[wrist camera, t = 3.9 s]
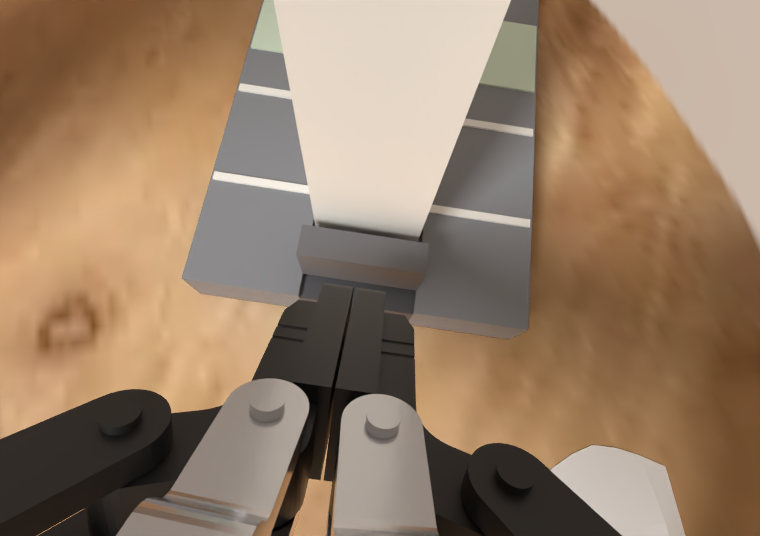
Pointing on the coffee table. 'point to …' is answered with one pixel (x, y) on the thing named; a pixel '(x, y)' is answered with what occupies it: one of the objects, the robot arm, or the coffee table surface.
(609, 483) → the heart sculpture
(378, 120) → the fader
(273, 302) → the console
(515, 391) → the coffee table surface
